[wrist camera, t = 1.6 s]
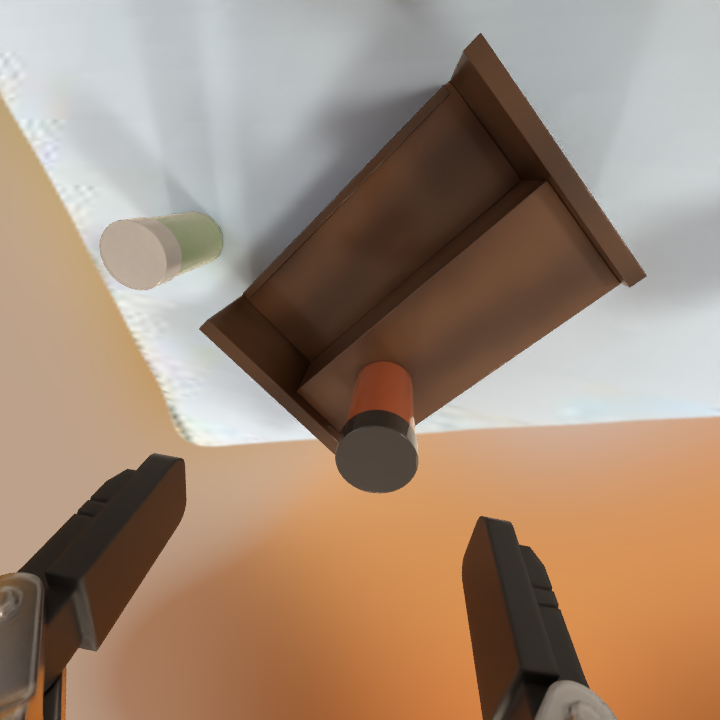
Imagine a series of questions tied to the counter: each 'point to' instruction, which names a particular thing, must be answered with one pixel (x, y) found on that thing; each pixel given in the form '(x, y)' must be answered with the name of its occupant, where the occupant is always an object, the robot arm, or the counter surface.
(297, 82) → the counter surface
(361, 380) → the pepper shaker
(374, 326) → the spice rack
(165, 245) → the cylinder
